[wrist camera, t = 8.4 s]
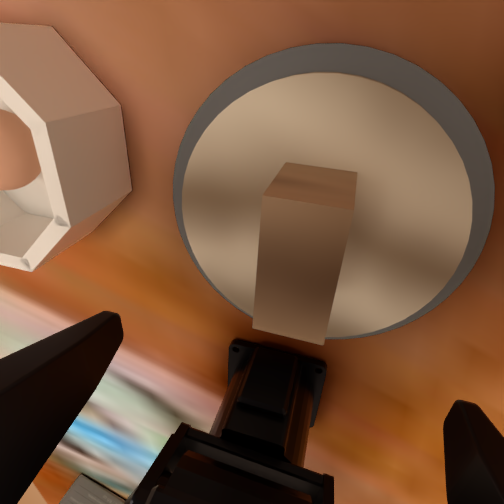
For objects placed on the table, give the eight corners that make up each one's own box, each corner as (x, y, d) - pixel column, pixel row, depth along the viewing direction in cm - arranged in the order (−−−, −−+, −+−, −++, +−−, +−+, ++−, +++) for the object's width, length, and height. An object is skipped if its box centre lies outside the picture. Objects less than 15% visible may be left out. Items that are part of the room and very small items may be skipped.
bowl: (138, 239, 22) (85, 285, 18) (-5, 211, 24) (-82, 245, 20) (111, 29, 16) (21, 23, 12) (-74, 18, 18) (-202, 10, 14)
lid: (414, 348, 19) (427, 432, 15) (194, 297, 22) (153, 356, 18) (524, 87, 12) (604, 108, 8) (184, 59, 15) (114, 64, 11)
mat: (427, 355, 20) (429, 366, 19) (186, 300, 23) (180, 307, 22) (560, 55, 12) (571, 56, 12) (170, 33, 15) (161, 32, 15)
